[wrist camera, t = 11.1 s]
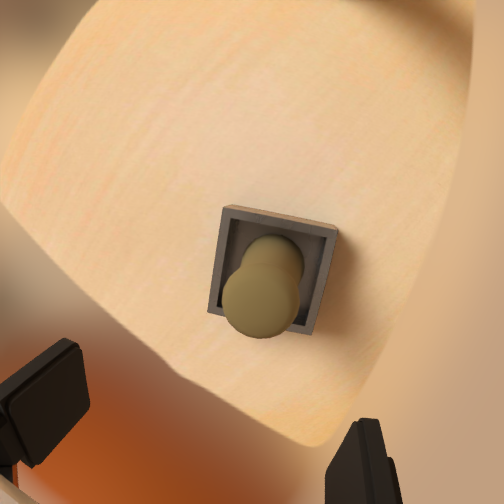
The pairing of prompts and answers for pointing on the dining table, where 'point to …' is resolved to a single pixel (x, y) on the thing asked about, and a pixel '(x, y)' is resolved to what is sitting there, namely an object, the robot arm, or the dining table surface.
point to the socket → (264, 223)
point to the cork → (265, 287)
